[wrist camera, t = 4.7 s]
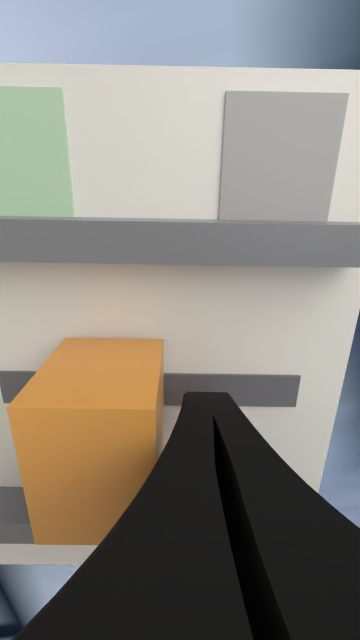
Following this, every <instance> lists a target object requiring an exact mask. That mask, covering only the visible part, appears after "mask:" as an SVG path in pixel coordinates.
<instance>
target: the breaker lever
mask: <svg viewBox="0 0 360 640" xmlns="http://www.w3.org/2000/svg"><path fill="white" fill-rule="evenodd" d="M7 412H8V417H9V422H10V427H11V432H12V436H13V441H14V446H15V451H16V456H17V461H18V466H19V470H20V475H21V480H22V485H23V490H24V495H25V499H26V504H27V509H28V514H29V519H30V524H31V528H32V533H33V538H34V543H35V545H99V544H100V543H101V542H102V540H103V539H104V538H105V537H106V535H107V534H108V533H109V531H110V530H111V529H112V528H113V526H114V525H115V524H116V522H117V521H118V520H119V518H120V517H121V516H122V514H123V513H124V511H125V510H126V509H127V507H128V506H129V505H130V503H131V502H132V500H133V499H134V498H135V496H136V495H137V493H138V492H139V490H140V488H141V487H142V485H143V484H144V482H145V481H146V479H147V478H148V476H149V474H150V473H151V471H152V469H153V468H154V466H155V464H156V462H157V460H158V459H159V457H160V455H161V453H162V451H163V448H164V339H103V338H65V339H64V340H63V341H62V342H61V343H60V345H59V346H58V347H57V348H56V349H55V351H54V352H53V353H52V354H51V355H50V357H49V358H48V359H47V360H46V361H45V362H44V364H43V365H42V366H41V367H40V368H39V370H38V371H37V372H36V373H35V374H34V376H33V377H32V378H31V379H30V380H29V382H28V383H27V384H26V385H25V386H24V387H23V389H22V390H21V391H20V392H19V393H18V395H17V396H16V397H15V398H14V399H13V401H12V402H11V403H10V404H9V405H8V407H7Z"/></svg>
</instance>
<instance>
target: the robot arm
mask: <svg viewBox="0 0 360 640" xmlns="http://www.w3.org/2000/svg"><path fill="white" fill-rule="evenodd" d="M12 640H360V528H359V527H357V526H356V525H355V524H354V523H352V522H351V521H350V520H348V519H347V518H346V517H345V516H344V515H342V514H341V513H340V512H339V511H338V510H336V509H335V508H334V507H333V506H332V505H330V504H329V503H328V502H327V501H326V500H325V499H324V498H323V497H322V496H320V495H319V494H318V493H317V492H316V491H315V490H314V489H313V488H311V487H310V486H309V485H308V484H307V483H306V482H305V481H304V480H303V479H302V478H301V477H300V476H299V475H298V474H297V473H296V472H295V471H294V470H293V469H292V468H291V467H290V466H289V465H288V464H287V463H286V462H285V461H284V460H283V459H282V458H281V457H280V456H279V455H278V453H277V452H276V451H275V450H274V449H273V448H272V447H271V446H270V445H269V443H268V442H267V441H266V440H265V439H264V438H263V436H262V435H261V434H260V433H259V432H258V431H257V429H256V428H255V427H254V426H253V424H252V423H251V422H250V421H249V419H248V418H247V417H246V416H245V414H244V413H243V412H242V410H241V409H240V408H239V406H238V405H237V404H236V402H235V401H234V400H233V398H232V397H231V395H230V394H229V393H228V392H186V393H185V394H184V395H183V402H182V406H181V410H180V413H179V416H178V418H177V421H176V424H175V426H174V428H173V430H172V433H171V435H170V437H169V439H168V442H167V444H166V445H165V447H164V449H163V451H162V453H161V455H160V457H159V459H158V460H157V462H156V464H155V466H154V468H153V469H152V471H151V473H150V474H149V476H148V478H147V479H146V481H145V482H144V484H143V485H142V487H141V488H140V490H139V492H138V493H137V495H136V496H135V498H134V499H133V500H132V502H131V503H130V505H129V506H128V507H127V509H126V510H125V511H124V513H123V514H122V516H121V517H120V518H119V520H118V521H117V522H116V524H115V525H114V526H113V528H112V529H111V530H110V531H109V533H108V534H107V535H106V537H105V538H104V539H103V540H102V542H101V543H100V544H99V545H98V546H97V547H96V549H95V550H94V551H93V552H92V553H91V554H90V556H89V557H88V558H87V559H86V560H85V561H84V563H83V564H82V565H81V566H80V567H79V568H78V570H77V571H76V572H75V573H74V574H73V575H72V577H71V578H70V579H69V580H68V581H67V582H66V584H65V585H64V586H63V587H62V588H61V589H60V590H59V591H58V592H57V594H56V595H55V596H54V597H53V598H52V599H51V600H50V601H49V602H48V603H47V604H46V605H45V606H44V607H43V608H42V609H41V610H40V611H39V612H38V613H37V614H36V615H35V617H34V618H33V619H32V620H31V621H30V622H29V623H28V624H27V625H26V626H25V627H24V628H23V629H22V630H21V631H20V632H19V633H18V634H17V635H16V636H15V637H14V638H13V639H12Z"/></svg>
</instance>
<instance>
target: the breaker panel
mask: <svg viewBox="0 0 360 640" xmlns="http://www.w3.org/2000/svg"><path fill="white" fill-rule="evenodd" d="M359 310H360V70H337V69H288V68H239V67H190V66H142V65H93V64H44V63H0V564H32V565H82V564H83V563H84V561H85V560H86V559H87V558H88V557H89V556H90V554H91V553H92V552H93V551H94V550H95V549H96V547H97V546H98V545H35V543H34V538H33V533H32V528H31V524H30V519H29V514H28V509H27V504H26V499H25V495H24V490H23V485H22V480H21V475H20V470H19V466H18V461H17V456H16V451H15V446H14V441H13V436H12V432H11V427H10V422H9V417H8V412H7V407H8V405H9V404H10V403H11V402H12V401H13V399H14V398H15V397H16V396H17V395H18V393H19V392H20V391H21V390H22V389H23V387H24V386H25V385H26V384H27V383H28V382H29V380H30V379H31V378H32V377H33V376H34V374H35V373H36V372H37V371H38V370H39V368H40V367H41V366H42V365H43V364H44V362H45V361H46V360H47V359H48V358H49V357H50V355H51V354H52V353H53V352H54V351H55V349H56V348H57V347H58V346H59V345H60V343H61V342H62V341H63V340H64V339H65V338H103V339H164V447H165V445H166V444H167V442H168V439H169V437H170V435H171V433H172V430H173V428H174V426H175V424H176V421H177V418H178V416H179V413H180V410H181V406H182V402H183V395H184V394H185V393H186V392H228V393H229V394H230V395H231V397H232V398H233V400H234V401H235V402H236V404H237V405H238V406H239V408H240V409H241V410H242V412H243V413H244V414H245V416H246V417H247V418H248V419H249V421H250V422H251V423H252V424H253V426H254V427H255V428H256V429H257V431H258V432H259V433H260V434H261V435H262V436H263V438H264V439H265V440H266V441H267V442H268V443H269V445H270V446H271V447H272V448H273V449H274V450H275V451H276V452H277V453H278V455H279V456H280V457H281V458H282V459H283V460H284V461H285V462H286V463H287V464H288V465H289V466H290V467H291V468H292V469H293V470H294V471H295V472H296V473H297V474H298V475H299V476H300V477H301V478H302V479H303V480H304V481H305V482H306V483H307V484H308V485H309V486H310V487H311V488H313V489H314V490H315V491H316V492H317V493H318V492H319V488H320V483H321V479H322V474H323V470H324V465H325V461H326V456H327V452H328V447H329V443H330V439H331V434H332V430H333V425H334V421H335V416H336V412H337V407H338V403H339V399H340V394H341V390H342V385H343V381H344V376H345V372H346V367H347V363H348V359H349V354H350V350H351V345H352V341H353V336H354V332H355V327H356V323H357V319H358V314H359ZM163 449H164V448H163Z"/></svg>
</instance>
